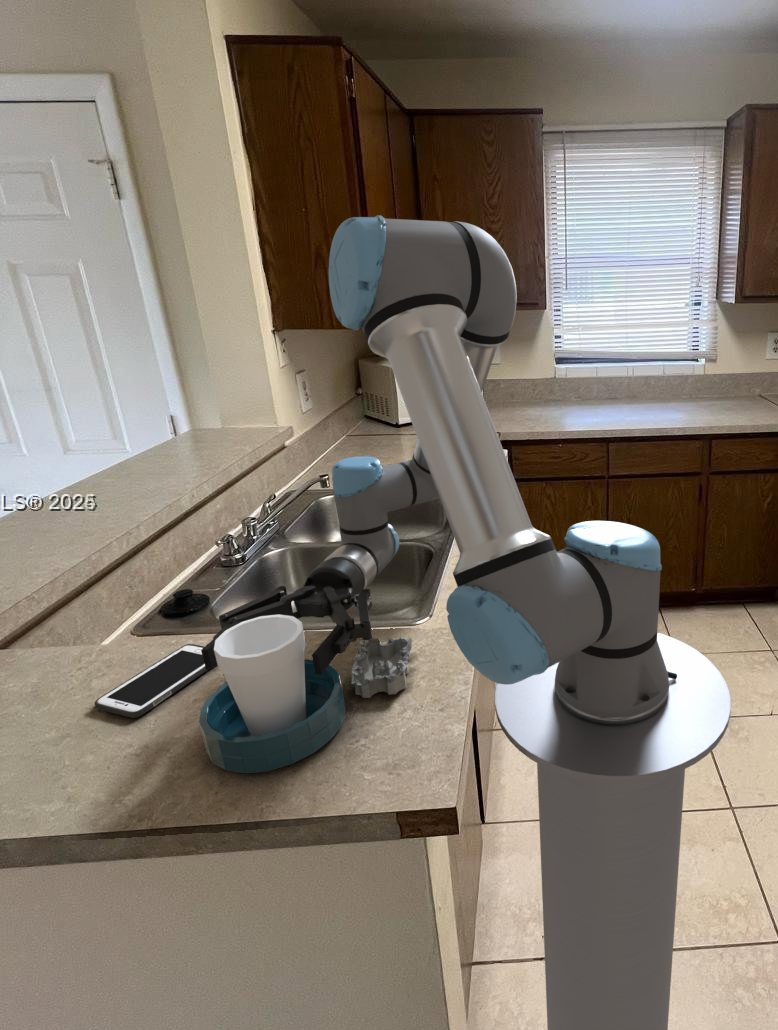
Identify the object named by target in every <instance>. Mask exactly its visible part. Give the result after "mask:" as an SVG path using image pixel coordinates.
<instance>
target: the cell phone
mask: <svg viewBox="0 0 778 1030" xmlns="http://www.w3.org/2000/svg"><path fill="white" fill-rule="evenodd" d="M204 647H205V646H203V645H199V644H195V643H194V644H193V643H188V644H185V645H183V646H181V647H179V648H177V649H176V650H174V651H172V652H171V653H169V654H168V655H166V656H164V657H163V658H161V659H159V660H157V661H156V662H155V663H153V664H151V665H150V666H148V667H147V668H145V669H143V670H142V671H140V672H138V673H136V674H135V675H133V676H132V677H130V678H128V680H127V679H126V681H123V682H122V683H120V684H119V685H117V686H115V687H114V688H112V689H111V690H110V691H107V692H106V693H105V694H103V695H101V696H100V697H98V698H97V699H96V700H95V701H94V706H95V708H96V709H97V710H100V711H103V712H108V713H111V714H115V715H119V716H123V717H126V718H131V719H135V718H139V717H141V716H143V715H144V714H146V713H147V712H149V711H150V710H152V709H153V708H155V707H156V706H157V705H158V704H160V703H161V702H163V701H165V700H166V699H167V698H169V697H170V696H172V695H174V694H175V693H176V692H179V691H180V690H181V689H182V688H185V686H187V685H188V684H190V683H191V682H193V681H194V680H195V679H197V678H199V677H200V676H201V675H203V674H205V673H206V672H207V671H209V670H210V669H206V667H205V663H204V659H203V656H202V652H201V650H202V649H203V648H204Z"/></svg>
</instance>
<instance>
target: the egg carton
mask: <svg viewBox="0 0 778 1030" xmlns="http://www.w3.org/2000/svg"><path fill="white" fill-rule="evenodd" d="M359 639H360V640H359V642H358V645H357V646H358V647H357V652H356V655H355V657H354V662H353V665H352V668H351V685H354V687H355V695H358V696H360V697H361V698H362V699H371V698H372V696H373V695H375V694H377V693H382V692H384V693H386V694H387V695H396V694H397V693H398V692H400V691H402V690H406V689H407V677H406V675H408V674H409V671H410V670H409V661H410V660H411V650H412V643H413V641H412V640H413V639H412V637H409V636H408V637H403V636H400V637H399V638H393V637H389V638H388V641H385V642H381V640H380V638H379V637H377V636H372V639H370V640H363V638H359Z"/></svg>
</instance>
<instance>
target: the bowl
mask: <svg viewBox="0 0 778 1030" xmlns="http://www.w3.org/2000/svg"><path fill="white" fill-rule="evenodd" d="M304 667H305V699H306V719H305V720H303V721H301V722H299V723H297V724H295V725H293V726H291V727H289V728H286V729H284V730H280V731H277V732H273V733H270V734H266V735H262V736H251V733H250V732H249V730H248V728H247V726H246V724H245V721H244V719H243V717H242V715H241V712H240V710H239V708H238V706H237V703H236V701H235V699H234V697H233V694H232V692H231V690H230V688H229V685H228V683H227V681H226V682H224V683H223V684H222V685H220V686H219V687H218V688H217V689H216V690H215V691H214V692H212V693H211V694H210V695H209V696H208V698H207V699H206V700H205V702H204V704H203V705H202V707H201V708H200V710H199V716H198V717H199V719H198V726H199V728H200V731H201V736H202V740H203V743H204V747H205V751H206V753H207V755H208V757H209V759H210V761H211V762H212V764H214V765H215V766H217V767H219V768H220V769H223V770H224V771H227V772H233V773H240V774H253V773H254V774H255V773H263V772H270V771H273V770H277V769H280V768H281V769H282V768H284V767H287V766H290V765H292V764H294V763H297V762H299V761H301V760H304V759H305V758H307V757H308V756H310V755H313V754H315V753H316V752H317V751H319V750H320V749H321V748H323V747H324V746H325V745H327V743H328V742H330V741H331V740H332V739H333V738H334V737H335V735H336V734H337V733H338V732H339V730H340V729H341V727H342V726H343V724H344V721H345V718H346V714H347V710H346V709H347V708H346V703H345V698H344V693H343V685H342V680H341V676H340V675H341V674H340V673H339V672H338V671H337V670H336V669H335V668H334V667H333V665H331V664H329V666H328V667H327V668H326V669H325V671H324V672H323V673H322V674H321V675H319V674H315V670H314V665H313V659H308V658H307V659H306V658H304Z"/></svg>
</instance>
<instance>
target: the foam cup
mask: <svg viewBox="0 0 778 1030" xmlns="http://www.w3.org/2000/svg"><path fill="white" fill-rule="evenodd" d="M306 646H307V645H306V637H305V632H304V625H303V621H301V620H299V619H296V618H295V617H293V616H287V615H279V614H278V615H269V616H260V617H257V618H253V619H250V620H247V621H243V622H241V623H239V624H237V625H235V626H233V627H231V628H229V629H227V630H225V631H224V632H223V633H222V634H221V635H220V636H219V637H218V638H217V639H216V640H215V645H214V652H215V656H216V660H217V668H219V670H220V671H221V672H222V674H223V676H224V678H225V681H226V682H227V683H228V685H229V688H230V690H231V692H232V694H233V697H234V699H235V701H236V703H237V706H238V708H239V710H240V712H241V715H242V717H243V719H244V721H245V724H246V726H247V728H248V730H249V732H250V733H251V736H262V735H266V734H270V733H273V732H277V731H280V730H284V729H286V728H289V727H291V726H293V725H295V724H297V723H299V722H301V721H303V720H305V719H306V699H305V667H304V659H305V649H306Z"/></svg>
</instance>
